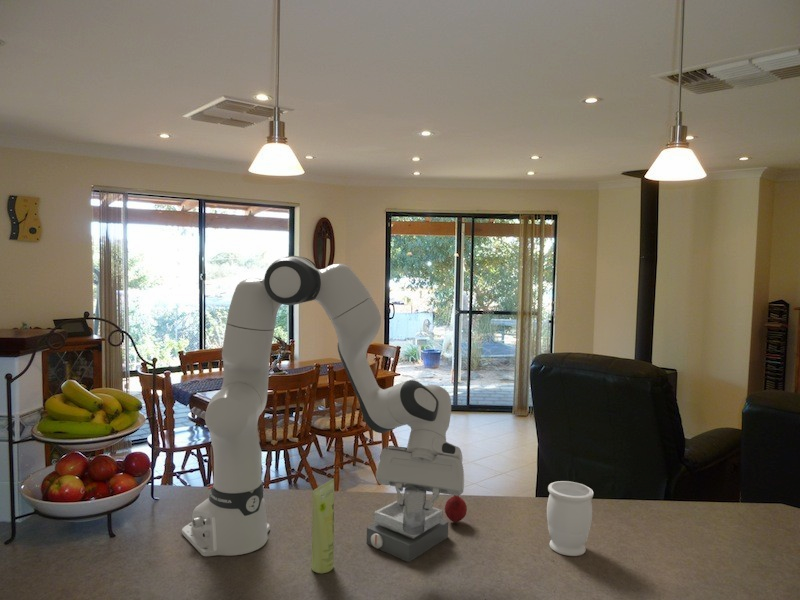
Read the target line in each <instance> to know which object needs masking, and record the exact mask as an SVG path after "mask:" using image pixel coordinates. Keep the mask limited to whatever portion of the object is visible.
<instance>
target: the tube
mask: <svg viewBox="0 0 800 600" xmlns="http://www.w3.org/2000/svg"><path fill="white" fill-rule="evenodd" d="M311 516H312V518H311V519H312V520H311V522H312V523H311V524H312V526H311V560H310V561H311V564H310V568H311V570H312V571H313V572H315V573H317V574H326V573H329V572H331V571H332V570H333V568H334V555H335V554H334V550H335V549H334V548H335V545H334V544H335V479H334V478H332V479H329V481H327V482H325V483H323V484H322V485H320V486H318V487H317V488H315V489H313V493H312V515H311Z"/></svg>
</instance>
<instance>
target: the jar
mask: <svg viewBox="0 0 800 600" xmlns="http://www.w3.org/2000/svg"><path fill="white" fill-rule="evenodd" d="M547 491H548V492H549V495H548V499H547V503H546V519H547V529H548V533H549V536H550V537H549V538H550V539H551V540H550V541H549V544H548V545H549V547H550V549H552V551H554V552H555V553H557V554H561V555H562V556H563V555H564V556H567V557H568V556H569V557H579V556H582V555H584V553H586V545H585V544H586V543H587V540H588V538H589V534H590V529H591V526H592V520H593V506H592V499H593V497H594V491H593V489H592V488H590V487H589V486H587V485H585V484H583V483H579V482H577V481H575V482H574V481H569V480H560V481H559V480H558V481H554V482H551V483H549V484H548V486H547Z"/></svg>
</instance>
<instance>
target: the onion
mask: <svg viewBox="0 0 800 600" xmlns="http://www.w3.org/2000/svg"><path fill="white" fill-rule="evenodd" d="M467 507H468V506H467V504H466V502H465V500H464V499H463V498H462V497H461V496H456V495H452V496H451V497H450V498H448V499H447V501H446V503H445V505H444V513H445V515H446V517H447V518H448V519H449V520H450V521H451V522H452V523H455V524H456V523H458V522H460V521H462V520H463V519H464V518H465V517H466V516H467V510H468V509H467Z"/></svg>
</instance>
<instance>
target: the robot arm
mask: <svg viewBox="0 0 800 600" xmlns="http://www.w3.org/2000/svg"><path fill="white" fill-rule="evenodd" d="M311 301H315V302H316V303H318V304H319V305H320V306H321V307H322V308H323V310H324V312H325V314H326V315H327V316H328V319H329V320H330V322H331V324H332V326H333V328H334V330H335V334H336V336H337V337H336V338H337V351H338V355H339V358H340V360H341V363H342V365H343V368H344V370H345V373H346V375H347V377H348V380H349V381H350V384H351V386H352V388H353V390H354V392H355V393H354V394H355V395H356V398H357V400H358V404H359V407H360V411H361V416H362V418H363V421H364V423H365V424H366V425H367V426H368V427H369V429H371V430H372V432H373V431H374V432H376V433H378V434H386V433H388V432H390V431H393V430H394V429H397V428H400V427H402V426H408V427H410V432H409V437H408V442H407V445H406V447H404V446H395V445H388V446H386V447H384V448H382V449H381V451H380V455H379V463H378V465H377V468H376V471H375V478H376V481H377V483H378V484H379V485H383V486H389V487H394V489H395V491H396V493H397V499H396V501H397V505H398V506H403V507H404V496H403V495H402V493H403V492H404V489H405V488H407V487H409V486H419V487H422V488H424V489H426V492H429V493H432V496H431V497H430V498H429V499H426V500H425V506H424V509H425V510H429V511H432V507H434V506H433V505H434V504H435V503H436V501H438V499H439V498H440V494H441V495H442V494H443V495H449V496H454V495H456V496H459V497H461V495H462V494H464V490H465V472H464V471H465V470H464V466H463V452H462V450H461V448H460V447H459V446H457V445H455V444H452V443H450V442H448V441H447V436H446V435H447V431H448V430H449V428H450V421H451V416H452V399H451V396H450V393H449V391H447V390H446V389H445V388H443V387H442V386H440V385H438V384H437V385H436V384H428V385H424V384H422V383H421V382H419V381H418V380H414V379H409V380H406V381H401V382H400V383H397V384H395V385H392V386H390V387H388V388H384V389H383V388H382V387H380V385H378V382H377V380H376V378H375V375H374V373H373V370H372V368H371V366H370V364H369V362H368V357H367V356H368V354H367V352H368V349H369V347H370V345H371V344H372V342H374V339H375V338H376V337H377V335H378V333H379V331H380V329H381V324H382V315H381V311H380V310H379V308H378V306H377V304H376V302H375V301H374V299H373V298H372V296H371V294H370V292H369V291H368V289H367V288H366V286H365V285H364V283H363V282H362V280H361V279H360V278H359V277H358V276H357V274H356V273H355V272H354V271H353V270H352V268H350V267H349V265H346V264H344V263H334V264H330V265H328V266H326V267H324V268H321V269H319V268H318V267H317V265H316V264H315V263H314V262H313V261H312V260H311V259H309V258H308V257H304V256H298V255H289V256H285V257H281V258H278V259H277V260H275V261H273V262H272V263H271V264H270V265H269V266H268V268H267V269H266V271H265V274H264V277H263V278H255V277H254V278H253V277H251V278H248V279H247V278H245V279H243V280H242V281H240V282H239V283H238V284H237V285H236V286H235V289H234V292H233V294H232V298H231V301H230V304H229V308H228V313H227V317H226V322H225V323H226V325H225V330H224V337H223V342H222V343H223V344H222V350H221V351H222V352H221V358H222V359H221V360H222V363H223V364H222V365H223V367H222V368H223V380H222V385H221V388H220V390H219V391H218V392H216V393H215V394H214V395H213V396H212V397H211V399H210V401H209V403H208V405H207V408H206V411H205V414H204V422H205V426H206V427H207V429H208V430H209V436H210V441H211V447H212V452H213V453H212V454H213V483H209V484H207V486H208V487H207V490H210V493H209V496H208V498H206V499H205V500H204V501H202V502H201V503H199V504H198V505H197V506H195V508H194V509H193V511H192V515H191V522H189V523H188V524H186V525H185V526H183V527H182V529H181V535H183V537H184V538H186V540H187V541H188V542H189V543H190V544H191V545H192V546H193V548H195V550H197V552H198V553H200V555H201V556H202V557H213V556H238V555H239V556H240V555H244V554H249V553H252V552H254V551H257V550H259V549H260V548H262V547H263V546H264V545H265V544H266V543H267V542H268V540H269V539H268V538H269V537H268V533H269V531H270V530H271V527H270V523H269V522H267V519H268V518H267V512H266V511H267V509H266V501H265V498H264V481H263V480H262V469H263V468H262V466H263V465H262V463H263V462H262V461H263V460H262V458H263V453H262V448H261V445H260V440H259V431H258V422H259V418H260V415H262V413H263V412H264V410H265V408H266V406H267V401H268V393H269V380H270V379H269V378H270V377H269V376H270V360H271V352H272V347H273V339H274V333H275V327H276V320H277V314H278V313H279V310H280V308H281V306H282V305H284V306H294V305H299V304H303V303H307V302H311ZM401 492H402V493H401Z"/></svg>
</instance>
